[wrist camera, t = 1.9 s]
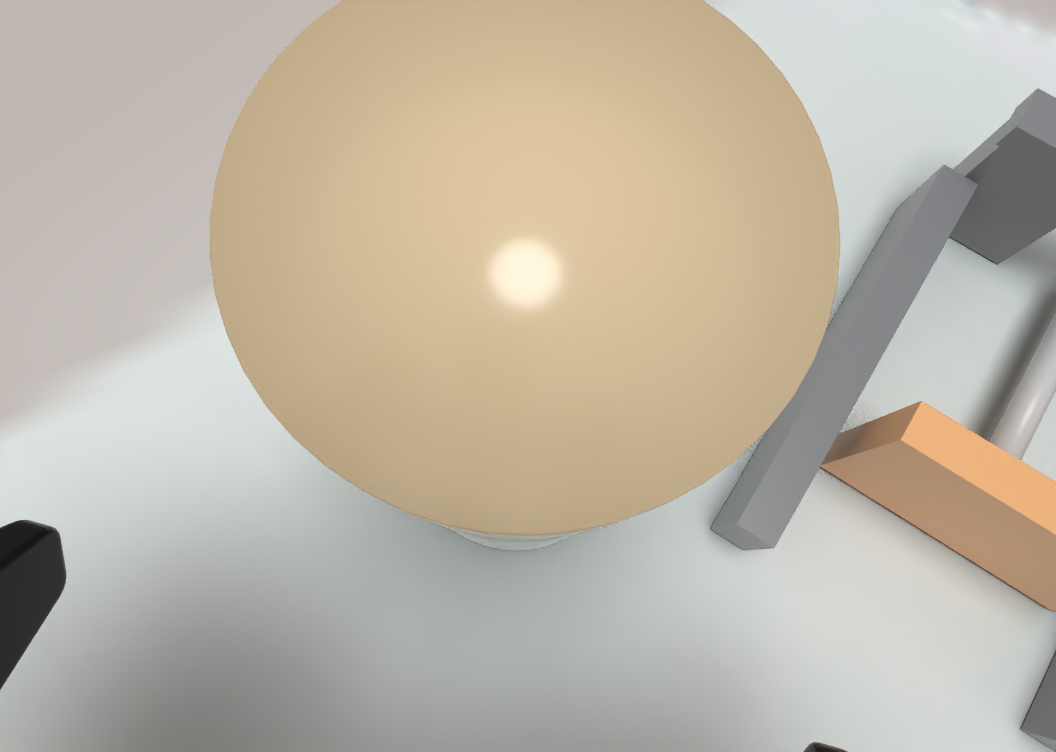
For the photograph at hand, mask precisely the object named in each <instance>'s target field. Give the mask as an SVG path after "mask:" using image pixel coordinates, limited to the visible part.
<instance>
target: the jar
mask: <svg viewBox="0 0 1056 752" xmlns="http://www.w3.org/2000/svg"><path fill="white" fill-rule="evenodd" d="M839 257H840V232H839V214H838V206H837V200H836V195H835V190H834V185H833V180H832V175H831V171H830V168H829V165H828V162H827V159H826V156H825V153H824V150H823V147H822V144H821V142H820V139H819V136H818V134H817V132H816V130H815V128H814V126H813V124H812V122H811V120H810V118H809V116H808V114H807V112H806V110H805V108H804V106H803V104H802V102H801V101H800V99H799V98H798V96H797V95H796V93H795V92H794V90H793V89H792V87H791V86H790V84H789V83H788V81H787V80H786V78H785V77H784V75H783V74H782V72H781V71H780V70H779V69H778V68H777V67H776V65H775V64H774V63H773V62H772V61H771V60H770V59H769V57H768V56H767V55H766V54H765V53H764V52H763V50H762V49H761V48H760V47H759V46H758V45H757V44H756V43H755V42H754V41H753V40H752V39H751V38H750V37H749V36H747V35H746V34H745V33H744V32H743V31H742V30H741V29H740V28H739V27H737V26H736V25H735V24H734V23H733V22H732V21H731V20H730V19H728V18H727V17H725V16H724V15H723V14H721V13H720V12H718V11H717V10H716V9H714V8H713V7H711V6H710V5H709V4H707V3H706V2H704V1H703V0H342V1H341V2H339V3H338V4H337V5H335V6H334V7H332V8H331V9H330V10H328V11H327V12H326V13H324V14H323V15H322V16H320V17H319V18H318V19H316V20H315V21H314V22H312V23H311V24H310V25H309V26H308V27H307V28H306V29H305V30H304V31H303V32H302V33H301V34H300V35H298V36H297V37H296V38H295V39H294V40H293V41H292V42H291V43H290V44H289V45H288V46H287V47H286V48H285V49H284V50H283V51H282V53H281V54H280V55H279V56H278V57H277V59H276V60H275V61H274V62H273V64H272V65H271V66H270V67H269V68H268V70H267V71H266V72H265V73H264V75H263V76H262V77H261V79H260V80H259V82H258V84H257V86H256V87H255V88H254V90H253V92H252V93H251V95H250V97H249V98H248V100H247V101H246V103H245V104H244V106H243V108H242V109H241V112H240V114H239V116H238V118H237V121H236V123H235V125H234V127H233V130H232V132H231V134H230V136H229V138H228V141H227V143H226V146H225V149H224V153H223V156H222V160H221V163H220V167H219V170H218V173H217V177H216V182H215V187H214V195H213V202H212V208H211V215H210V260H211V267H212V275H213V282H214V289H215V296H216V299H217V302H218V306H219V309H220V313H221V316H222V320H223V323H224V327H225V330H226V333H227V336H228V338H229V340H230V342H231V344H232V347H233V349H234V351H235V353H236V355H237V358H238V360H239V362H240V364H241V366H242V369H243V371H244V372H245V374H246V376H247V377H248V379H249V380H250V382H251V383H252V385H253V386H254V388H255V390H256V391H257V393H258V394H259V396H260V397H261V399H262V400H263V402H264V404H265V405H266V406H267V408H268V409H269V410H270V411H271V412H272V413H273V415H274V416H275V417H276V418H277V419H278V420H279V422H280V423H281V424H282V425H283V426H284V427H285V429H286V430H287V431H288V432H289V433H290V434H291V435H292V437H293V438H294V439H295V440H297V441H298V442H299V443H300V444H301V445H302V446H303V447H305V448H306V449H307V450H308V451H309V452H310V453H311V454H313V455H314V456H315V457H316V458H317V459H318V460H319V461H321V462H322V463H323V464H324V465H325V466H326V467H328V468H329V469H331V470H332V471H334V472H335V473H337V474H338V475H340V476H341V477H343V478H345V479H346V480H348V481H349V482H351V483H352V484H354V485H355V486H357V487H358V488H360V489H361V490H363V491H365V492H367V493H369V494H371V495H373V496H375V497H377V498H379V499H380V500H382V501H384V502H386V503H388V504H390V505H393V506H395V507H397V508H399V509H401V510H403V511H405V512H407V513H409V514H411V515H414V516H416V517H418V518H420V519H422V520H425V521H428V522H431V523H434V524H437V525H441V526H444V527H447V528H449V529H451V530H452V531H454V532H456V533H457V534H459V535H461V536H462V537H464V538H466V539H468V540H471V541H473V542H475V543H477V544H480V545H483V546H486V547H490V548H495V549H500V550H510V551H523V550H534V549H538V548H543V547H547V546H550V545H553V544H555V543H558V542H561V541H563V540H565V539H567V538H569V537H571V536H573V535H575V534H578V533H582V532H587V531H591V530H595V529H600V528H604V527H607V526H610V525H612V524H615V523H618V522H620V521H623V520H626V519H628V518H631V517H634V516H636V515H639V514H641V513H644V512H646V511H649V510H651V509H654V508H656V507H659V506H661V505H664V504H666V503H668V502H670V501H672V500H674V499H675V498H677V497H679V496H681V495H683V494H685V493H687V492H688V491H690V490H692V489H694V488H696V487H698V486H700V485H701V484H703V483H705V482H706V481H708V480H709V479H710V478H712V477H713V476H714V475H716V474H717V473H718V472H720V471H721V470H723V469H724V468H725V467H727V466H728V465H729V464H731V463H732V462H733V461H735V460H736V459H738V458H739V457H740V456H741V455H742V454H743V453H744V452H745V451H746V450H747V449H748V448H749V447H750V446H751V445H752V444H753V443H754V442H755V441H756V440H757V439H758V438H759V437H760V436H761V435H762V434H763V433H764V432H765V431H767V430H768V429H769V427H770V426H771V425H772V423H773V422H774V421H775V420H776V418H777V417H778V416H779V414H780V413H781V412H782V411H783V409H784V408H785V407H786V405H787V404H788V403H789V401H790V400H791V399H792V398H793V396H794V395H795V393H796V391H797V389H798V388H799V386H800V384H801V382H802V381H803V379H804V377H805V375H806V373H807V372H808V370H809V368H810V366H811V365H812V363H813V361H814V359H815V356H816V354H817V351H818V348H819V346H820V343H821V341H822V338H823V336H824V333H825V330H826V328H827V325H828V322H829V318H830V314H831V309H832V305H833V301H834V296H835V292H836V288H837V280H838V268H839Z"/></svg>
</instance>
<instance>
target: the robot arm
mask: <svg viewBox="0 0 1056 752" xmlns="http://www.w3.org/2000/svg"><path fill="white" fill-rule="evenodd" d="M65 583H66V568H65V562H64V556H63V550H62V544H61V538H60V534H59V532H58V531H57V530H56V529H55V528H53V527H51V526H47V525H44V524H40V523H37V522H33V521H29V520H20V521H15V522H13V523H10V524H8V525H5V526H3V527H1V528H0V690H1V688H2V686H3V685H4V683H5V682H6V680H7V679H8V677H9V675H10V674H11V672H12V671H13V669H14V668H15V666H16V664H17V663H18V661H19V660H20V658H21V657H22V655H23V653H24V652H25V650H26V649H27V647H28V646H29V644H30V643H31V641H32V639H33V638H34V636H35V635H36V633H37V632H38V630H39V628H40V627H41V625H42V624H43V622H44V621H45V619H46V617H47V616H48V614H49V613H50V611H51V610H52V608H53V606H54V605H55V603H56V602H57V600H58V599H59V597H60V595H61V593H62V591H63V589H64V586H65ZM804 752H847V751H845V750H843V749H840V748H836V747H833V746H829V745H826V744H822V743H818V742H814V743H812V744H810V745H808V747H807V748H806V749H805V751H804Z"/></svg>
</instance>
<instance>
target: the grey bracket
mask: <svg viewBox="0 0 1056 752" xmlns="http://www.w3.org/2000/svg"><path fill="white" fill-rule="evenodd" d="M1055 228H1056V98H1055V97H1053V96H1051V95H1049V94H1047V93H1046V92H1044V91H1042V90H1040V89H1036V90H1035V91H1034V92H1033V93H1032V94H1031V95H1030V96H1029V97H1028V98H1027V99H1025V100H1024V101H1023V102H1022V103H1021V104H1020V105H1019V106H1018V107H1017V108H1016V109H1015V111H1014V113H1013V115H1012V116H1011V118H1010V119H1009V120H1008V121H1007V122H1006V123H1005V124H1004V125H1002V126H1001V127H1000V128H999V129H998V130H997V131H996V132H995V133H993V134H992V135H991V136H990V137H989V138H988V139H987V140H986V141H984V142H983V143H982V144H981V145H980V146H979V147H978V148H977V149H976V150H974V151H973V152H972V153H971V154H970V155H969V156H968V157H967V158H965V159H964V160H963V161H962V162H961V163H960V164H959V165H958V166H956V167H955V168H954V169H951V168H949V167H947V166H945V165H943V166H942V167H941V168H940V169H939V170H938V171H936V172H935V173H934V174H933V175H932V176H931V177H930V178H929V179H928V180H927V181H926V182H925V183H923V184H922V185H921V186H920V187H919V188H918V189H917V190H916V191H915V192H914V193H913V194H912V195H910V196H909V197H908V198H907V199H906V200H905V201H904V202H903V203H902V204H901V205H900V206H899V207H898V208H897V210H896V211H895V213H894V215H893V216H892V218H891V220H890V222H889V223H888V225H887V227H886V228H885V230H884V232H883V234H882V235H881V237H880V239H879V240H878V242H877V244H876V245H875V247H874V249H873V251H872V252H871V254H870V256H869V257H868V259H867V261H866V263H865V264H864V266H863V268H862V269H861V271H860V273H859V275H858V276H857V278H856V280H855V281H854V283H853V285H852V287H851V288H850V290H849V292H848V293H847V295H846V297H845V299H844V300H843V302H842V304H841V305H840V307H839V309H838V310H837V312H836V314H835V316H834V317H833V319H832V321H831V322H830V324H829V326H828V328H827V329H826V331H825V333H824V336H823V338H822V341H821V343H820V346H819V348H818V351H817V354H816V356H815V359H814V361H813V363H812V365H811V366H810V368H809V370H808V372H807V373H806V375H805V377H804V379H803V381H802V382H801V384H800V386H799V388H798V389H797V391H796V393H795V395H794V396H793V398H792V399H791V400H790V401H789V403H788V404H787V405H786V407H785V408H784V409H783V411H782V412H781V413H780V414H779V416H778V417H777V418H776V420H775V421H774V422H773V423H772V425H771V426H770V427H769V429H768V430H767V432H766V434H765V435H764V437H763V439H762V440H761V442H760V444H759V446H758V447H757V449H756V451H755V452H754V454H753V456H752V458H751V459H750V461H749V463H748V464H747V466H746V468H745V470H744V471H743V473H742V475H741V476H740V478H739V480H738V481H737V483H736V485H735V487H734V488H733V490H732V492H731V493H730V495H729V497H728V499H727V500H726V502H725V504H724V505H723V507H722V509H721V511H720V512H719V514H718V516H717V517H716V519H715V521H714V523H713V524H712V526H711V528H710V529H711V530H712V531H714V532H716V533H717V534H719V535H720V536H722V537H723V538H725V539H726V540H728V541H729V542H731V543H733V544H734V545H736V546H737V547H739V548H740V549H742V550H753V549H768V548H774V547H775V546H776V544H777V542H778V540H779V538H780V537H781V535H782V533H783V531H784V530H785V528H786V526H787V524H788V522H789V521H790V519H791V517H792V515H793V514H794V512H795V510H796V508H797V506H798V505H799V503H800V501H801V499H802V498H803V496H804V494H805V492H806V490H807V489H808V487H809V485H810V483H811V481H812V480H813V478H814V476H815V474H816V473H817V471H818V469H819V467H820V465H821V464H822V462H823V460H824V458H825V457H826V455H827V453H828V451H829V449H830V448H831V446H832V444H833V442H834V441H835V439H836V437H837V435H838V433H839V432H840V430H841V428H842V426H843V425H844V423H845V421H846V419H847V417H848V416H849V414H850V412H851V410H852V408H853V407H854V405H855V403H856V401H857V400H858V398H859V396H860V394H861V392H862V391H863V389H864V387H865V385H866V384H867V382H868V380H869V378H870V376H871V375H872V373H873V371H874V369H875V368H876V366H877V364H878V362H879V360H880V359H881V357H882V355H883V353H884V352H885V350H886V348H887V346H888V344H889V343H890V341H891V339H892V337H893V335H894V334H895V332H896V330H897V328H898V327H899V325H900V323H901V321H902V319H903V318H904V316H905V314H906V312H907V311H908V309H909V307H910V305H911V303H912V302H913V300H914V298H915V296H916V295H917V293H918V291H919V289H920V287H921V286H922V284H923V282H924V280H925V278H926V277H927V275H928V273H929V271H930V270H931V268H932V266H933V264H934V262H935V261H936V259H937V257H938V255H939V254H940V252H941V250H942V248H943V246H944V245H945V243H946V241H947V239H948V238H949V237H951V238H953V239H954V240H956V241H958V242H960V243H961V244H963V245H965V246H966V247H968V248H970V249H972V250H973V251H975V252H977V253H979V254H980V255H982V256H984V257H986V258H987V259H989V260H991V261H993V262H994V263H996V264H998V263H1000V262H1001V261H1003V260H1005V259H1006V258H1008V257H1010V256H1011V255H1013V254H1014V253H1016V252H1018V251H1019V250H1021V249H1023V248H1024V247H1026V246H1027V245H1029V244H1031V243H1032V242H1034V241H1035V240H1037V239H1039V238H1040V237H1042V236H1044V235H1045V234H1047V233H1048V232H1050V231H1052V230H1053V229H1055ZM1021 730H1022V731H1024V732H1026V733H1027V734H1029V735H1030V736H1032V737H1033V738H1035V739H1036V740H1038V741H1039V742H1041V743H1043V744H1044V745H1046V746H1047V747H1049V748H1050V749H1052V750H1053V751H1055V752H1056V654H1055V656H1054V658H1053V660H1052V662H1051V664H1050V667H1049V669H1048V671H1047V673H1046V675H1045V677H1044V680H1043V682H1042V684H1041V686H1040V688H1039V690H1038V693H1037V695H1036V697H1035V699H1034V701H1033V704H1032V706H1031V708H1030V710H1029V712H1028V714H1027V717H1026V719H1025V721H1024V723H1023V725H1022V727H1021Z"/></svg>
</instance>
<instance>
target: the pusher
mask: <svg viewBox="0 0 1056 752" xmlns="http://www.w3.org/2000/svg"><path fill="white" fill-rule="evenodd" d="M1055 391H1056V312H1055V314H1054V316H1053V318H1052V320H1051V322H1050V324H1049V326H1048V328H1047V330H1046V332H1045V334H1044V336H1043V338H1042V340H1041V341H1040V343H1039V345H1038V347H1037V349H1036V351H1035V353H1034V355H1033V357H1032V359H1031V361H1030V363H1029V365H1028V367H1027V369H1026V371H1025V373H1024V375H1023V377H1022V379H1021V381H1020V382H1019V384H1018V386H1017V388H1016V390H1015V392H1014V394H1013V396H1012V398H1011V400H1010V402H1009V404H1008V406H1007V408H1006V410H1005V412H1004V414H1003V416H1002V418H1001V420H1000V422H999V423H998V425H997V427H996V429H995V431H994V433H993V435H992V437H991V439H990V441H987V440H985V439H984V438H982V437H980V436H979V435H977V434H975V433H974V432H972V431H971V430H969V429H967V428H966V427H964V426H962V425H961V424H959V423H957V422H956V421H954V420H952V419H951V418H949V417H947V416H946V415H944V414H942V413H941V412H939V411H937V410H936V409H934V408H932V407H931V406H929V405H927V404H926V403H924V402H923V401H920V402H918V403H915V404H913V405H910V406H908V407H905V408H903V409H900V410H898V411H895V412H893V413H890V414H888V415H885V416H883V417H880V418H878V419H875V420H873V421H870V422H868V423H865V424H863V425H860V426H858V427H855V428H853V429H850V430H848V431H845V432H843V433H840V434H838V435H837V437H836V439H835V441H834V442H833V444H832V446H831V448H830V449H829V451H828V453H827V455H826V457H825V458H824V460H823V462H822V464H821V465H820V467H822V468H823V469H825V470H826V471H828V472H830V473H831V474H833V475H834V476H836V477H838V478H839V479H841V480H842V481H844V482H846V483H847V484H849V485H850V486H852V487H854V488H855V489H857V490H859V491H860V492H862V493H863V494H865V495H867V496H868V497H870V498H871V499H873V500H875V501H876V502H878V503H879V504H881V505H883V506H884V507H886V508H887V509H889V510H891V511H892V512H894V513H895V514H897V515H899V516H900V517H902V518H903V519H905V520H907V521H908V522H910V523H911V524H913V525H915V526H916V527H918V528H919V529H921V530H923V531H924V532H926V533H927V534H929V535H931V536H932V537H934V538H935V539H937V540H939V541H940V542H942V543H943V544H945V545H947V546H948V547H950V548H951V549H953V550H955V551H956V552H958V553H959V554H961V555H963V556H964V557H966V558H967V559H969V560H971V561H972V562H974V563H975V564H977V565H979V566H980V567H982V568H983V569H985V570H987V571H988V572H990V573H992V574H993V575H995V576H996V577H998V578H1000V579H1001V580H1003V581H1004V582H1006V583H1008V584H1009V585H1011V586H1012V587H1014V588H1016V589H1017V590H1019V591H1020V592H1022V593H1024V594H1025V595H1027V596H1028V597H1030V598H1032V599H1033V600H1035V601H1036V602H1038V603H1040V604H1041V605H1043V606H1044V607H1046V608H1048V609H1049V610H1051V611H1056V482H1055V481H1053V480H1052V479H1050V478H1048V477H1047V476H1045V475H1043V474H1042V473H1040V472H1038V471H1037V470H1035V469H1033V468H1032V467H1030V466H1028V465H1027V464H1025V463H1024V462H1022V461H1021V459H1022V457H1023V455H1024V453H1025V451H1026V449H1027V447H1028V445H1029V443H1030V441H1031V439H1032V437H1033V435H1034V433H1035V431H1036V429H1037V427H1038V425H1039V423H1040V421H1041V419H1042V417H1043V415H1044V413H1045V411H1046V409H1047V407H1048V405H1049V403H1050V401H1051V399H1052V397H1053V395H1054V393H1055Z"/></svg>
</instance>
